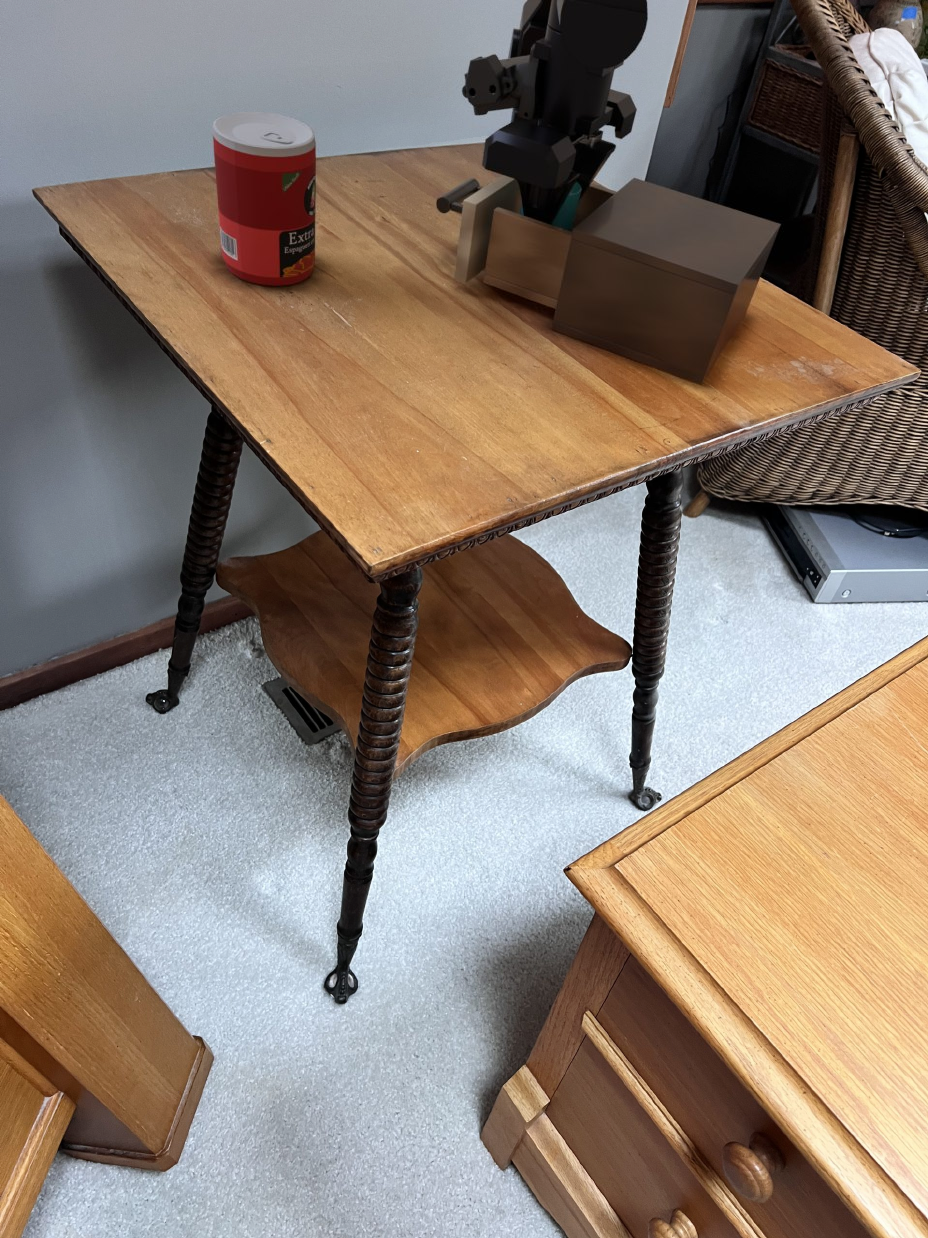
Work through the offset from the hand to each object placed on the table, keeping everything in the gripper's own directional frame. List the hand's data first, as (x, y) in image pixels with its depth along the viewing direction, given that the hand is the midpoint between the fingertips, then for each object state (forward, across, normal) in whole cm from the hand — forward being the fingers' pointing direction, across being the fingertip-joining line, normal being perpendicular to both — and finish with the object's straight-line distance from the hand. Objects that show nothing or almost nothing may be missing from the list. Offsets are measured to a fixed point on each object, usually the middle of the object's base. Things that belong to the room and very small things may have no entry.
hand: (544, 235), depth 77 cm
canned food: (+4, +14, -20) cm, 24 cm away
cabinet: (+4, 0, +12) cm, 12 cm away
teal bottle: (+2, 0, 0) cm, 2 cm away
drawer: (+3, 0, -1) cm, 3 cm away
